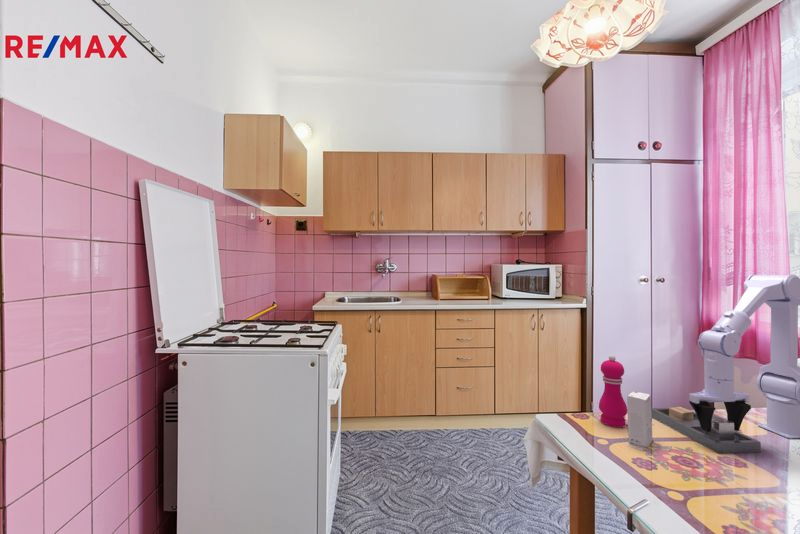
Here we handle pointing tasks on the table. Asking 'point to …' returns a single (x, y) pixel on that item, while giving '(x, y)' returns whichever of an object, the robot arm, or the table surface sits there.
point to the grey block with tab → (721, 429)
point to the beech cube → (680, 413)
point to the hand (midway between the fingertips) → (719, 429)
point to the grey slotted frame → (696, 433)
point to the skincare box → (639, 418)
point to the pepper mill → (612, 394)
